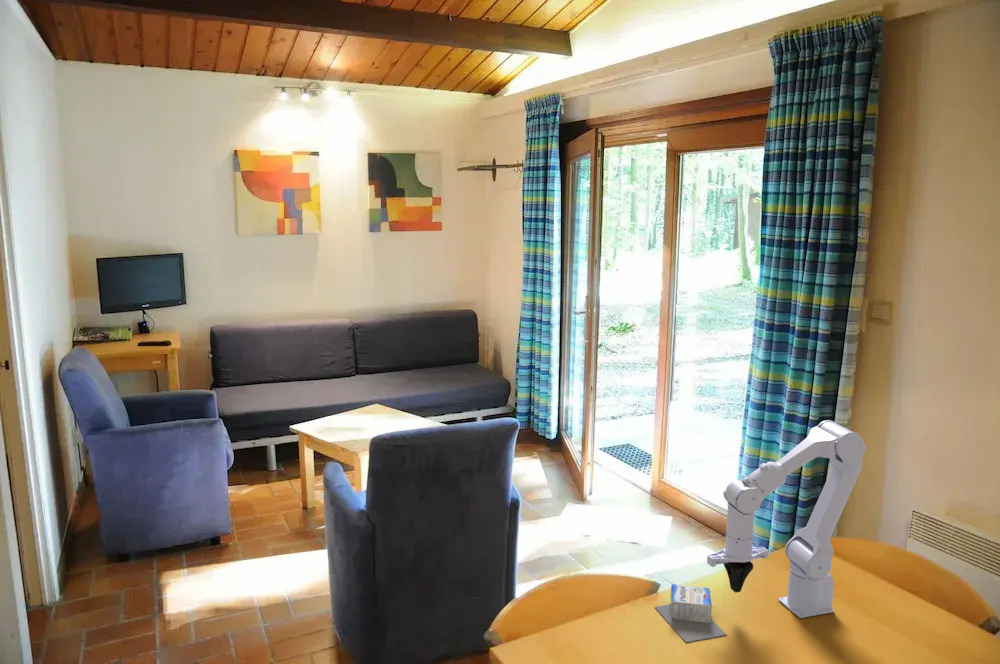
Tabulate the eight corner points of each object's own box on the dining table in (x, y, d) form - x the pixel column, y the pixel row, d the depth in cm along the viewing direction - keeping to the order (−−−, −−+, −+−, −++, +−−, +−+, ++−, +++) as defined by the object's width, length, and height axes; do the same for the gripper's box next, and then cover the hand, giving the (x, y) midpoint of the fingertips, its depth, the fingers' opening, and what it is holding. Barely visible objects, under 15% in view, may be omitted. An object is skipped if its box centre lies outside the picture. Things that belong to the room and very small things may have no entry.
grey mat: (693, 601, 173) (693, 600, 173) (726, 635, 160) (726, 634, 160) (654, 607, 170) (654, 606, 170) (685, 642, 157) (685, 641, 157)
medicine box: (712, 605, 163) (672, 601, 164) (710, 624, 163) (670, 619, 165) (709, 587, 170) (671, 583, 172) (708, 605, 171) (670, 600, 173)
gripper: (756, 522, 170) (752, 576, 173) (701, 530, 166) (697, 585, 169) (775, 536, 163) (771, 592, 166) (718, 544, 159) (714, 601, 162)
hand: (735, 590), depth 167 cm, fingers closed
